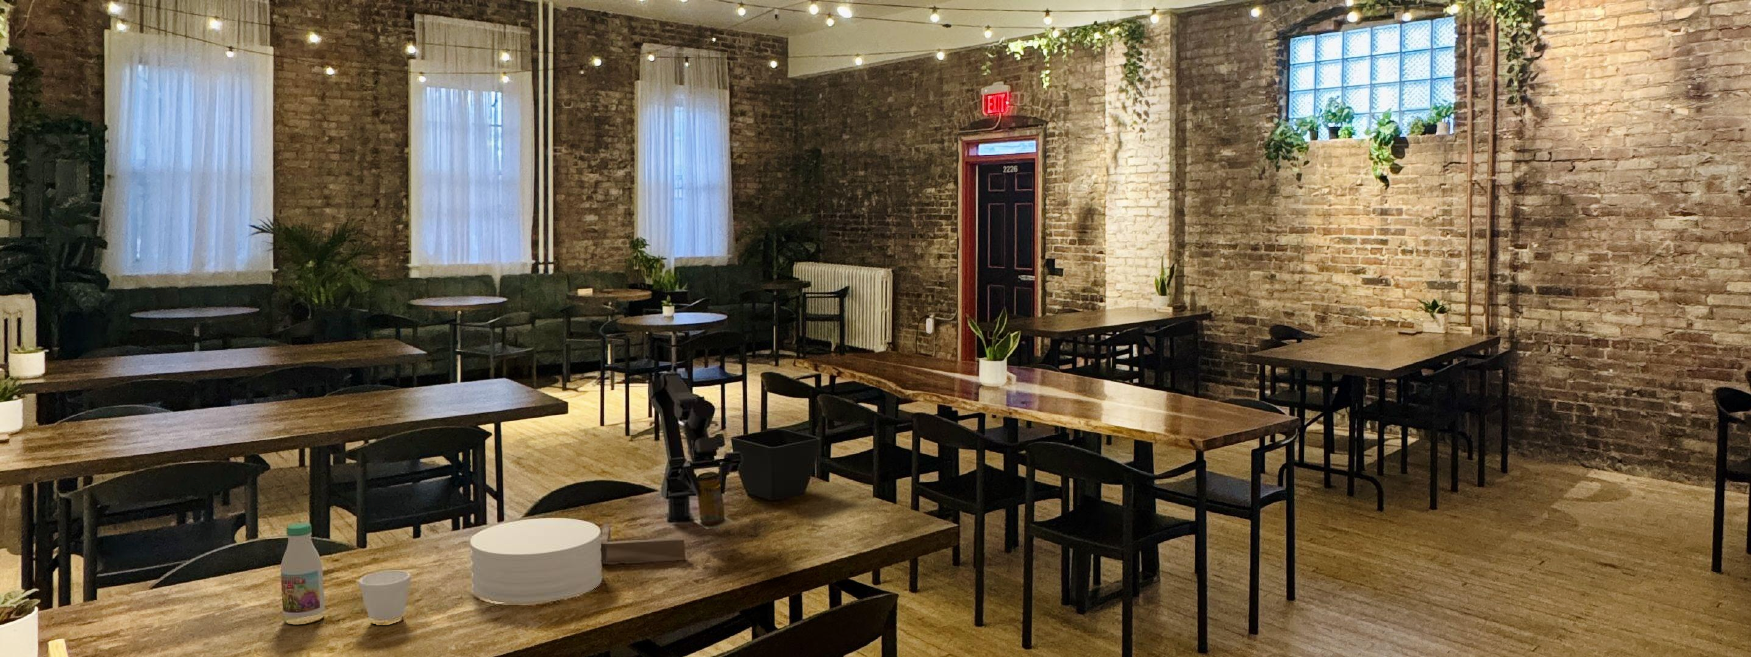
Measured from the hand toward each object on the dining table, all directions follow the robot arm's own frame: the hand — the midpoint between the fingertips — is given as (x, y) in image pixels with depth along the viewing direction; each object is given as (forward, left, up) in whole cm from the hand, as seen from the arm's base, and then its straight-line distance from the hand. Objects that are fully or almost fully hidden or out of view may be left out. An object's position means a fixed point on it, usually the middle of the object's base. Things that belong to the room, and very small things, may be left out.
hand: (711, 494), depth 288 cm
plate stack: (+19, -40, -14) cm, 46 cm away
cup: (+37, -68, -14) cm, 78 cm away
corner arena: (-1, -17, -14) cm, 22 cm away
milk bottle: (+33, -85, -14) cm, 92 cm away
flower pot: (-50, +20, -14) cm, 56 cm away
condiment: (-2, 0, -8) cm, 8 cm away
